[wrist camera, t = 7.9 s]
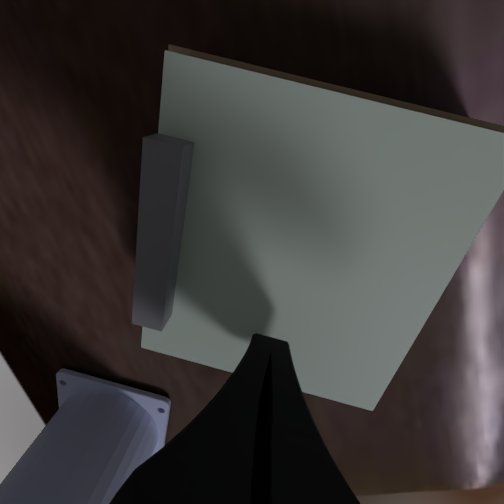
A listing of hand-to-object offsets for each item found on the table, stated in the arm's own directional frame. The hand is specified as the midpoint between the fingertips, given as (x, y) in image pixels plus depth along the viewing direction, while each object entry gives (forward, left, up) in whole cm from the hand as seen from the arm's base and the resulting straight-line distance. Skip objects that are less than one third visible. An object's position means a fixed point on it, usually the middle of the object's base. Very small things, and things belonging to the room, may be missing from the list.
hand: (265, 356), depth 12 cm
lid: (+4, 0, -2) cm, 4 cm away
